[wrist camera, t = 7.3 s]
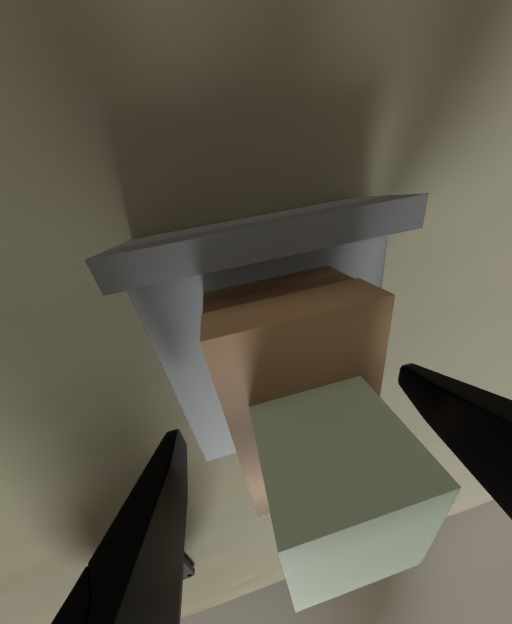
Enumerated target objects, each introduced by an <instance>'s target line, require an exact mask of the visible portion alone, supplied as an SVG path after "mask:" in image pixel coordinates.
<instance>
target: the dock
mask: <svg viewBox="0 0 512 624" xmlns="http://www.w3.org/2000/svg"><path fill="white" fill-rule="evenodd" d="M427 199H428V193H425V194H407V195H389V196H371V197H353V198H347V199H342V200H337V201H331V202H326V203H321V204H315V205H310V206H305V207H300V208H294V209H289V210H284V211H278V212H273V213H268V214H263V215H257V216H252V217H247V218H241V219H236V220H231V221H226V222H220V223H215V224H210V225H204V226H199V227H194V228H189V229H183V230H178V231H173V232H167V233H162V234H157V235H152V236H146V237H141V238H136V239H131V240H129V241H127V242H125V243H122V244H120V245H118V246H116V247H113V248H111V249H109V250H107V251H104V252H102V253H100V254H98V255H95V256H93V257H91V258H89V259H86V260H85V261H86V263H87V265H88V267H89V269H90V271H91V273H92V275H93V276H94V278H95V280H96V282H97V284H98V286H99V288H100V290H101V292H102V294H103V295H107V294H112V293H117V292H122V291H126V290H127V292H128V294H129V296H130V298H131V300H132V302H133V304H134V307H135V309H136V311H137V313H138V315H139V317H140V320H141V322H142V324H143V326H144V328H145V330H146V332H147V335H148V337H149V339H150V341H151V343H152V345H153V348H154V350H155V352H156V354H157V356H158V358H159V361H160V363H161V365H162V367H163V369H164V371H165V373H166V376H167V378H168V380H169V382H170V384H171V386H172V389H173V391H174V393H175V395H176V397H177V399H178V401H179V404H180V406H181V408H182V410H183V412H184V414H185V417H186V419H187V421H188V423H189V425H190V427H191V429H192V432H193V434H194V436H195V438H196V440H197V442H198V445H199V447H200V449H201V451H202V453H203V455H204V458H205V460H206V462H207V461H210V460H214V459H217V458H220V457H224V456H227V455H230V454H234V453H237V452H236V449H235V446H234V443H233V440H232V437H231V434H230V431H229V428H228V425H227V422H226V419H225V416H224V413H223V410H222V407H221V404H220V401H219V398H218V395H217V392H216V389H215V386H214V383H213V380H212V377H211V374H210V371H209V368H208V365H207V362H206V359H205V356H204V353H203V350H202V347H201V344H200V329H201V314H202V312H203V293H205V292H210V291H214V290H219V289H223V288H228V287H232V286H237V285H242V284H246V283H251V282H255V281H260V280H265V279H269V278H274V277H278V276H283V275H287V274H292V273H297V272H301V271H306V270H310V269H315V268H320V267H324V266H330V267H332V268H334V269H336V270H338V271H340V272H342V273H344V274H346V275H348V276H350V277H352V278H354V279H356V278H361V279H363V280H365V281H367V282H369V283H371V284H373V285H375V286H377V287H379V288H382V280H383V271H384V262H385V253H386V244H387V235H390V234H395V233H400V232H404V231H409V230H414V229H419V228H422V226H423V221H424V215H425V210H426V204H427Z"/></svg>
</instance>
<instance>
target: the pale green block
mask: <svg viewBox="0 0 512 624" xmlns="http://www.w3.org/2000/svg"><path fill="white" fill-rule="evenodd" d="M249 412H250V416H251V421H252V426H253V431H254V436H255V441H256V446H257V451H258V456H259V460H260V465H261V470H262V475H263V480H264V485H265V490H266V495H267V500H268V505H269V509H270V514H271V519H272V524H273V529H274V534H275V539H276V544H277V549H278V553H279V557H280V560H281V564H282V567H283V571H284V574H285V577H286V581H287V584H288V588H289V591H290V595H291V598H292V601H293V605H294V609H295V612H298V611H301V610H303V609H306V608H308V607H311V606H314V605H316V604H319V603H321V602H324V601H326V600H329V599H331V598H334V597H337V596H339V595H342V594H345V593H347V592H350V591H352V590H355V589H357V588H360V587H362V586H365V585H368V584H370V583H373V582H375V581H378V580H381V579H383V578H386V577H388V576H391V575H394V574H396V573H399V572H401V571H404V570H406V569H409V568H412V567H414V566H417V565H419V564H421V562H422V560H423V558H424V556H425V554H426V553H427V551H428V549H429V547H430V545H431V543H432V542H433V540H434V538H435V536H436V534H437V532H438V530H439V529H440V527H441V525H442V523H443V521H444V519H445V517H446V516H447V514H448V512H449V510H450V508H451V506H452V504H453V503H454V501H455V499H456V497H457V495H458V493H459V491H460V489H461V487H460V485H459V484H458V483H457V482H456V481H455V480H454V479H453V478H452V477H451V475H450V474H449V473H448V472H447V471H446V470H445V469H444V468H443V467H442V465H441V464H440V463H439V462H438V461H437V460H436V459H435V458H434V457H433V455H432V454H431V453H430V452H429V451H428V450H427V449H426V448H425V447H424V445H423V444H422V443H421V442H420V441H419V440H418V439H417V438H416V437H415V435H414V434H413V433H412V432H411V431H410V430H409V429H408V428H407V427H406V425H405V424H404V423H403V422H402V421H401V420H400V419H399V418H398V417H397V415H396V414H395V413H394V412H393V411H392V410H391V409H390V408H389V407H388V405H387V404H386V403H385V402H384V401H383V400H382V399H381V398H380V397H379V395H378V394H377V393H376V392H375V391H374V390H373V389H372V388H371V387H370V385H369V384H368V383H367V382H366V381H365V380H364V379H363V378H362V377H361V376H358V377H354V378H350V379H347V380H343V381H340V382H336V383H333V384H329V385H325V386H322V387H318V388H315V389H311V390H307V391H304V392H300V393H297V394H293V395H289V396H286V397H282V398H279V399H275V400H272V401H268V402H264V403H261V404H257V405H254V406H250V407H249Z"/></svg>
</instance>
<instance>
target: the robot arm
mask: <svg viewBox="0 0 512 624" xmlns="http://www.w3.org/2000/svg"><path fill="white" fill-rule="evenodd" d="M398 383H399V385H400V387H401V388H402V390H403V391H404V392H405V394H406V395H407V396H408V398H409V399H410V400H411V402H412V403H413V405H414V406H415V407H416V409H417V410H418V411H419V413H420V414H421V415H422V417H423V418H424V419H425V421H426V422H427V423H428V424H429V425H430V427H431V428H432V429H433V430H434V431H435V432H436V433H437V435H438V436H439V437H440V438H441V439H442V440H443V441H444V443H445V444H446V445H447V446H448V447H449V448H450V449H451V451H452V452H453V453H454V454H455V455H456V456H457V457H458V459H459V460H460V461H461V462H462V463H463V464H464V466H465V467H466V468H467V469H468V470H469V471H470V472H471V474H472V475H473V476H474V477H475V478H476V479H477V480H478V482H479V483H480V484H481V485H482V486H483V487H484V488H485V490H486V491H487V492H488V493H489V494H490V495H491V496H492V498H493V499H494V500H495V501H496V502H497V503H498V504H499V506H500V507H501V508H502V509H503V510H504V511H505V512H506V514H507V515H508V516H509V517H510V518H511V519H512V400H510V399H507V398H505V397H502V396H499V395H496V394H494V393H491V392H488V391H486V390H483V389H480V388H478V387H475V386H472V385H469V384H467V383H464V382H461V381H459V380H456V379H453V378H451V377H448V376H445V375H443V374H440V373H437V372H434V371H432V370H429V369H426V368H424V367H421V366H418V365H416V364H412V363H410V364H406V365H402V366H401V368H400V372H399V377H398ZM187 498H188V483H187V446H186V442H185V440H184V438H183V436H182V434H181V432H180V430H179V429H175V430H172V431H169V432H167V433H166V434H165V436H164V437H163V439H162V441H161V442H160V444H159V446H158V447H157V449H156V451H155V452H154V454H153V456H152V457H151V459H150V461H149V462H148V464H147V466H146V467H145V469H144V471H143V472H142V474H141V476H140V477H139V479H138V481H137V482H136V484H135V486H134V487H133V489H132V491H131V492H130V494H129V496H128V497H127V499H126V501H125V502H124V504H123V506H122V507H121V509H120V511H119V512H118V514H117V516H116V517H115V519H114V521H113V522H112V524H111V526H110V527H109V529H108V531H107V532H106V534H105V536H104V537H103V539H102V541H101V543H100V544H99V546H98V548H97V549H96V551H95V553H94V554H93V556H92V558H91V559H90V561H89V563H88V566H87V567H86V568H85V569H84V571H83V572H82V574H81V576H80V577H79V579H78V581H77V582H76V584H75V586H74V587H73V589H72V591H71V592H70V594H69V595H68V597H67V599H66V600H65V602H64V604H63V605H62V607H61V608H60V610H59V612H58V613H57V615H56V616H55V618H54V620H53V621H52V623H51V624H180V617H181V602H182V586H183V580H184V579H187V578H190V577H192V576H194V573H195V568H194V567H193V566H192V565H191V563H190V562H189V561H188V560H187V559H186V558H185V556H184V555H183V552H184V539H185V526H186V513H187Z"/></svg>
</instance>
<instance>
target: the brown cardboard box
mask: <svg viewBox="0 0 512 624" xmlns="http://www.w3.org/2000/svg"><path fill="white" fill-rule="evenodd" d="M394 298H395V295H394V294H392V293H390V292H388V291H386V290H384V289H382V288H379V287H377V286H375V285H373V284H371V283H369V282H367V281H365V280H363V279H361V278H356V279H354V278H352V277H350V276H348V275H346V274H344V273H342V272H340V271H338V270H336V269H334V268H332V267H330V266H324V267H320V268H315V269H310V270H306V271H301V272H297V273H292V274H287V275H283V276H278V277H274V278H269V279H265V280H260V281H255V282H251V283H246V284H242V285H237V286H232V287H228V288H223V289H219V290H214V291H210V292H205V293H203V312H202V314H201V329H200V344H201V347H202V350H203V353H204V356H205V359H206V362H207V365H208V368H209V371H210V374H211V377H212V380H213V383H214V386H215V389H216V392H217V395H218V398H219V401H220V404H221V407H222V410H223V413H224V416H225V419H226V422H227V425H228V428H229V431H230V434H231V437H232V440H233V443H234V446H235V449H236V452H237V455H238V458H239V461H240V464H241V467H242V470H243V473H244V476H245V479H246V482H247V485H248V488H249V491H250V494H251V497H252V500H253V503H254V506H255V509H256V512H257V515H258V517H259V516H262V515H264V514H267V513H270V509H269V505H268V500H267V495H266V490H265V485H264V480H263V475H262V470H261V465H260V460H259V456H258V451H257V446H256V441H255V436H254V431H253V426H252V421H251V416H250V412H249V407H250V406H254V405H257V404H261V403H264V402H268V401H272V400H275V399H279V398H282V397H286V396H289V395H293V394H297V393H300V392H304V391H307V390H311V389H315V388H318V387H322V386H325V385H329V384H333V383H336V382H340V381H343V380H347V379H350V378H354V377H358V376H361V377H362V378H363V379H364V380H365V381H366V382H367V383H368V384H369V385H370V387H371V388H372V389H373V390H374V391H375V392H376V393H377V394H378V395H379V397H380V392H381V385H382V379H383V372H384V365H385V358H386V352H387V345H388V338H389V331H390V325H391V318H392V311H393V304H394Z"/></svg>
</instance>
